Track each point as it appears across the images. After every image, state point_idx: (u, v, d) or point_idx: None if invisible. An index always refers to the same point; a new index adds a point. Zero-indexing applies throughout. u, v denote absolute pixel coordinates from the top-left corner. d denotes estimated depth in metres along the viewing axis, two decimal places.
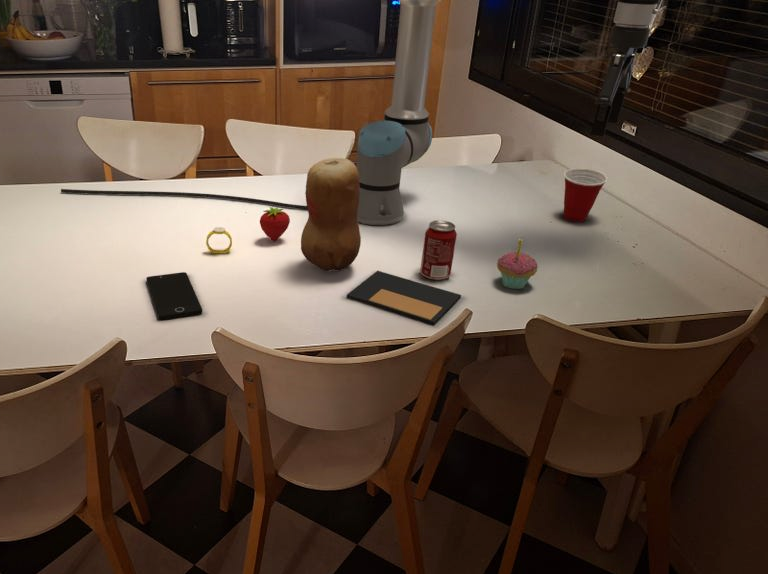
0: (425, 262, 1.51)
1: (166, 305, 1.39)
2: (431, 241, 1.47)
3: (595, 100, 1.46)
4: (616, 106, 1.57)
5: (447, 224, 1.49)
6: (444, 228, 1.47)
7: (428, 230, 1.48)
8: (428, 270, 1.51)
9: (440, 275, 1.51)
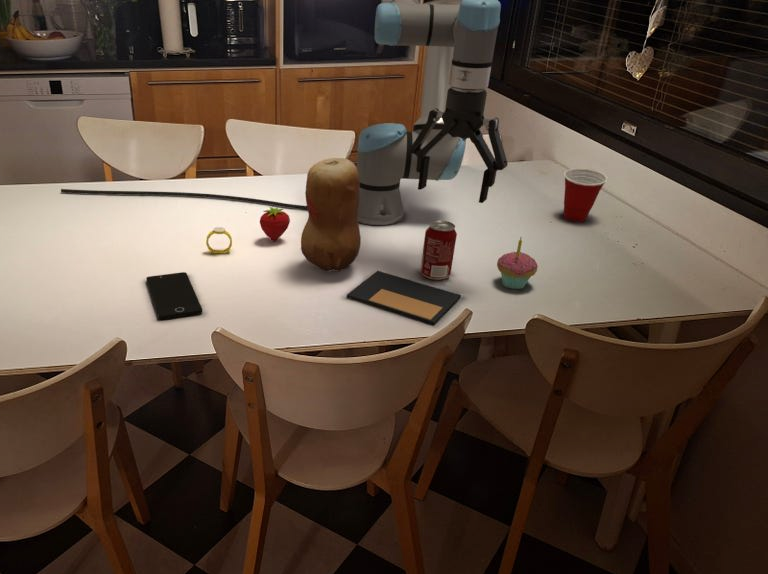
0: (425, 262, 1.51)
1: (166, 305, 1.39)
2: (431, 241, 1.47)
3: None
4: None
5: (447, 224, 1.49)
6: (444, 228, 1.47)
7: (428, 230, 1.48)
8: (428, 270, 1.51)
9: (440, 275, 1.51)
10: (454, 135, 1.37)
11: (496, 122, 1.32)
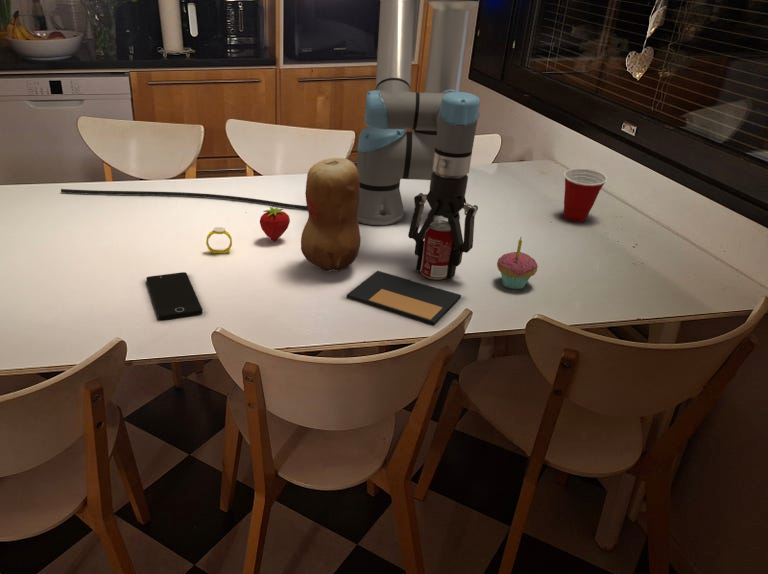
0: (425, 262, 1.51)
1: (166, 305, 1.39)
2: (431, 241, 1.47)
3: None
4: None
5: (447, 224, 1.49)
6: (444, 228, 1.47)
7: (428, 230, 1.48)
8: (428, 270, 1.51)
9: (440, 275, 1.51)
10: (438, 214, 1.46)
11: (475, 211, 1.42)
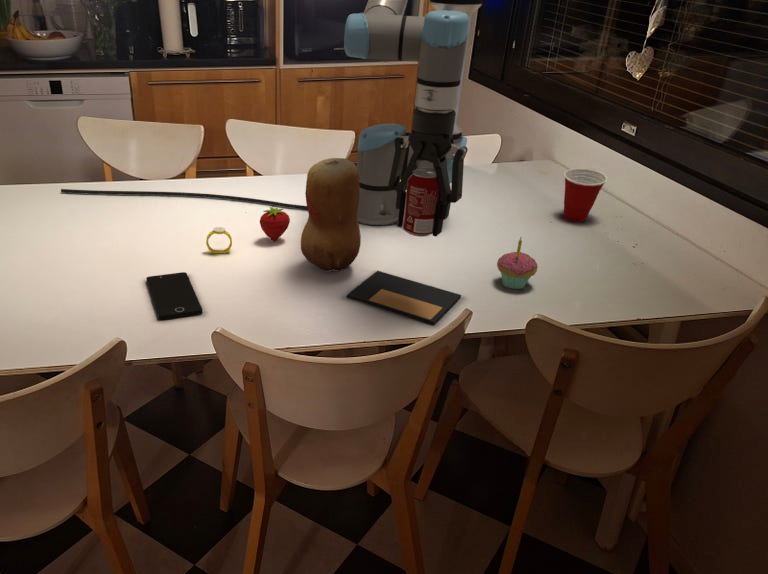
0: (407, 215, 1.31)
1: (166, 305, 1.39)
2: (414, 190, 1.28)
3: None
4: None
5: (432, 171, 1.30)
6: (429, 175, 1.28)
7: (410, 178, 1.28)
8: (411, 225, 1.31)
9: (424, 230, 1.31)
10: (421, 159, 1.26)
11: (464, 153, 1.22)
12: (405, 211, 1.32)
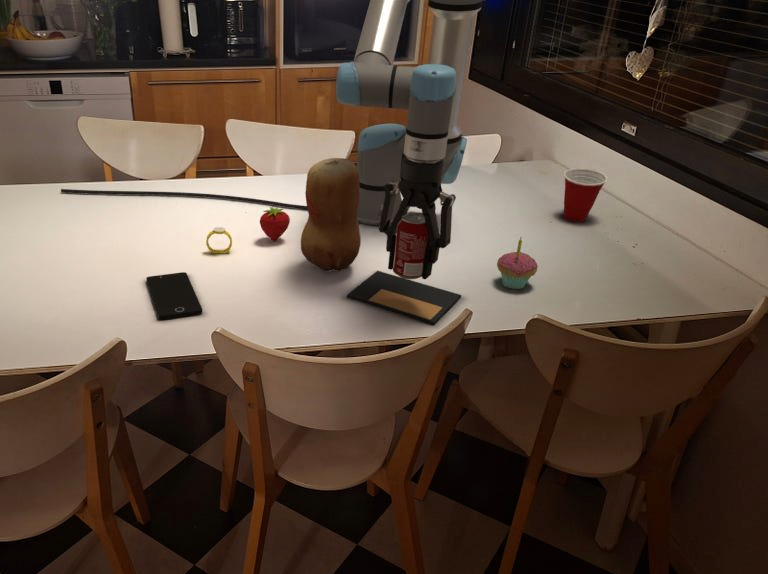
0: (397, 259, 1.34)
1: (166, 305, 1.39)
2: (403, 235, 1.30)
3: None
4: None
5: (422, 216, 1.32)
6: (418, 220, 1.30)
7: (400, 223, 1.31)
8: (401, 268, 1.34)
9: (414, 274, 1.34)
10: (411, 205, 1.29)
11: (452, 201, 1.25)
12: (395, 255, 1.34)
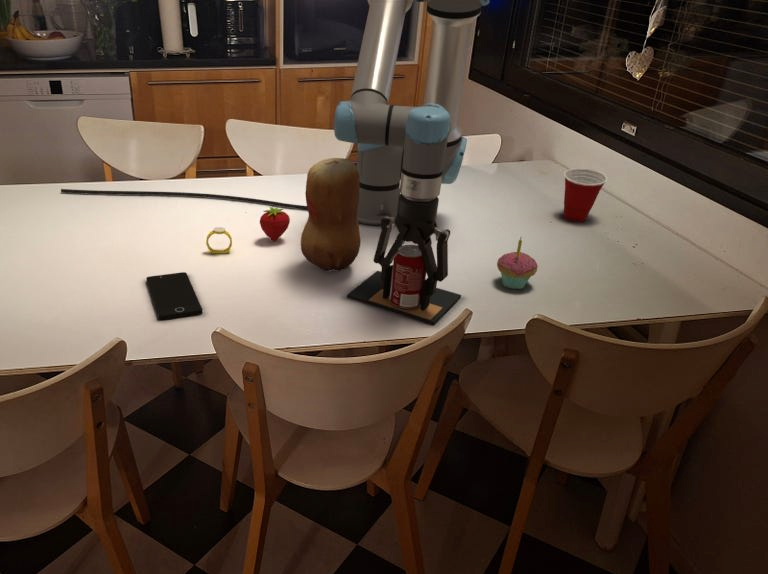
0: (394, 290, 1.37)
1: (166, 305, 1.39)
2: (400, 268, 1.34)
3: None
4: None
5: (418, 249, 1.36)
6: (414, 253, 1.34)
7: (396, 256, 1.35)
8: (397, 299, 1.38)
9: (410, 305, 1.37)
10: (407, 240, 1.33)
11: (447, 236, 1.29)
12: (392, 286, 1.38)
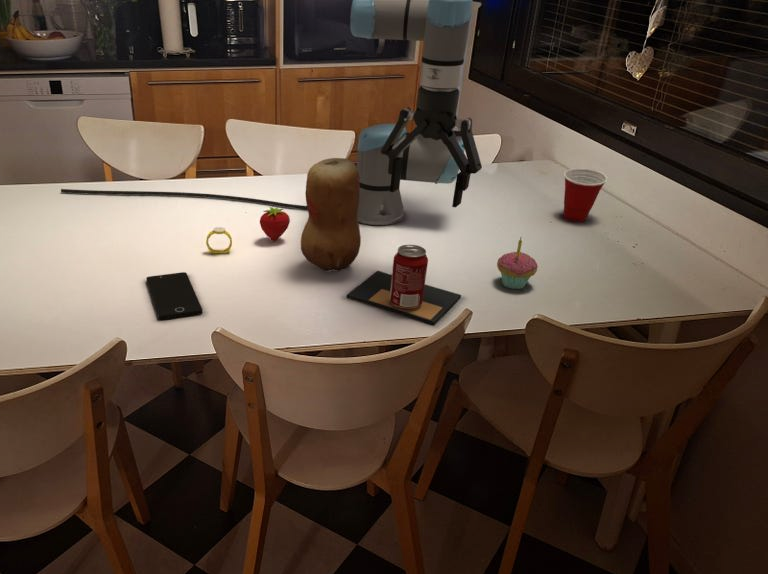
0: (394, 290, 1.37)
1: (166, 305, 1.39)
2: (400, 268, 1.34)
3: None
4: None
5: (418, 249, 1.36)
6: (414, 254, 1.34)
7: (396, 256, 1.35)
8: (397, 299, 1.38)
9: (410, 305, 1.37)
10: (426, 136, 1.30)
11: (469, 123, 1.25)
12: (392, 286, 1.38)
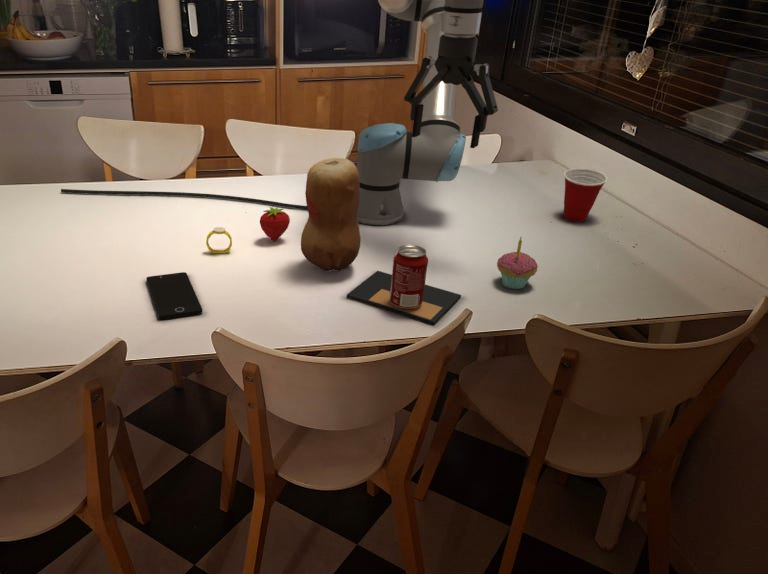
0: (394, 290, 1.37)
1: (166, 305, 1.39)
2: (400, 268, 1.34)
3: None
4: None
5: (418, 249, 1.36)
6: (414, 254, 1.34)
7: (396, 256, 1.35)
8: (397, 299, 1.38)
9: (410, 305, 1.37)
10: (446, 82, 1.42)
11: (487, 68, 1.37)
12: (392, 286, 1.38)
